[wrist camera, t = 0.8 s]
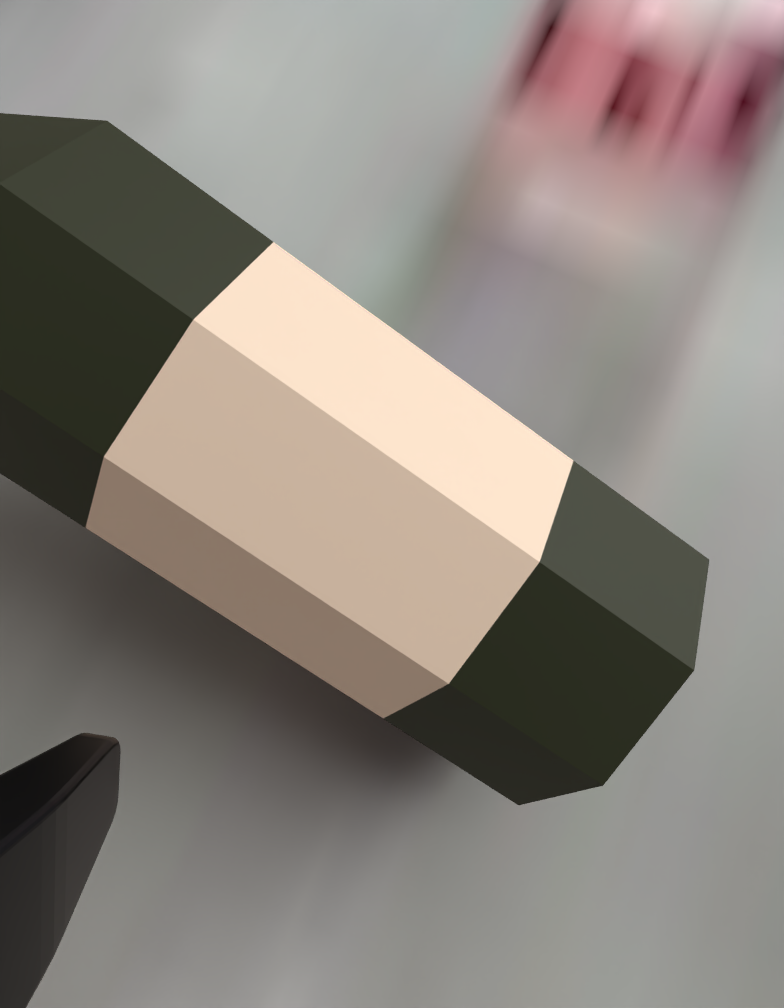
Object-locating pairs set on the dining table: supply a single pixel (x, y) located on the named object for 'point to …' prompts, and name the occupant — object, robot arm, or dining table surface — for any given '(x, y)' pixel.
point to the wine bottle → (322, 473)
